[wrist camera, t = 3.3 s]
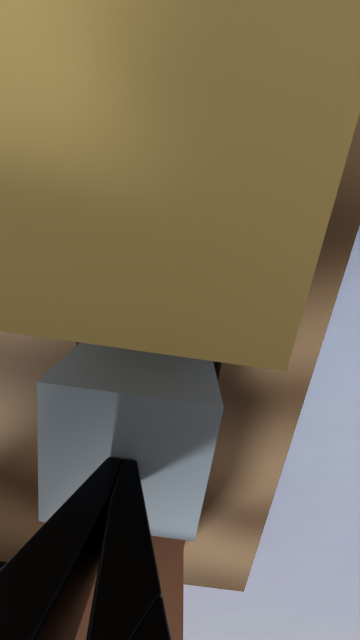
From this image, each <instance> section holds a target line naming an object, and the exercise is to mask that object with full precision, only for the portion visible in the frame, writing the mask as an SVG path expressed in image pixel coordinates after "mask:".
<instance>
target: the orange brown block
mask: <svg viewBox="0 0 360 640" xmlns="http://www.w3.org/2000/svg"><path fill="white" fill-rule="evenodd" d="M151 537H152V543H153V548H154V553H155V558H156V564H157V569H158V574H159V580H160V585H161V590H162V597H163V600H164V605H165V610H166V615H167V621H168V625H169V630H170V635H171V639H172V640H183V567H184V540H181V539H173V538H165V537H157V536H151ZM96 577H97V575H96ZM95 583H96V578H95V581H94V584H93V587H92V590H91V593H90V596H89V599H88V602H87V605H86V608H85V611H84V614H83V617H82V620H81V623H80V626H79V629H78V632H77V635H76V638H75V640H86V637H87V631H88V625H89V619H90V613H91V607H92V601H93V595H94V589H95Z"/></svg>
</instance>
